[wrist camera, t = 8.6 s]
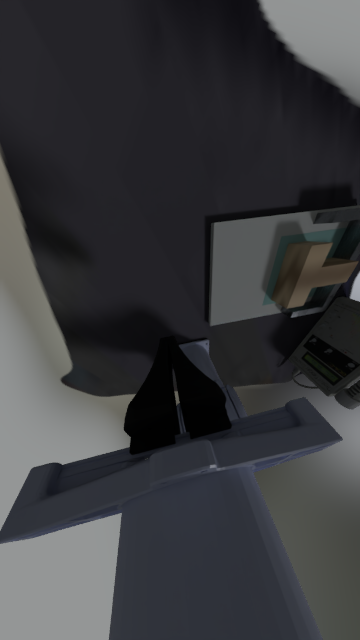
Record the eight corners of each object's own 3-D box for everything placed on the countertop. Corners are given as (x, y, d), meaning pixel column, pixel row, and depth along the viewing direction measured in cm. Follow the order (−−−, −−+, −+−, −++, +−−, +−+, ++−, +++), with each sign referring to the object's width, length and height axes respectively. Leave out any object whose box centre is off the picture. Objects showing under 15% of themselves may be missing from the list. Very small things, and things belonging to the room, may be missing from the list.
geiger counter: (457, 339, 17) (322, 424, 30) (484, 338, 18) (343, 420, 31) (334, 295, 28) (275, 371, 41) (355, 297, 30) (292, 369, 43)
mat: (308, 304, 28) (313, 306, 27) (208, 322, 26) (210, 325, 25) (357, 205, 19) (367, 204, 18) (211, 223, 17) (214, 222, 16)
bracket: (312, 305, 27) (325, 311, 25) (280, 311, 27) (290, 317, 25) (363, 207, 19) (388, 204, 17) (317, 213, 18) (337, 210, 16)
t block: (314, 291, 25) (335, 299, 22) (270, 299, 24) (286, 308, 22) (342, 236, 20) (373, 236, 17) (288, 243, 19) (311, 245, 17)
